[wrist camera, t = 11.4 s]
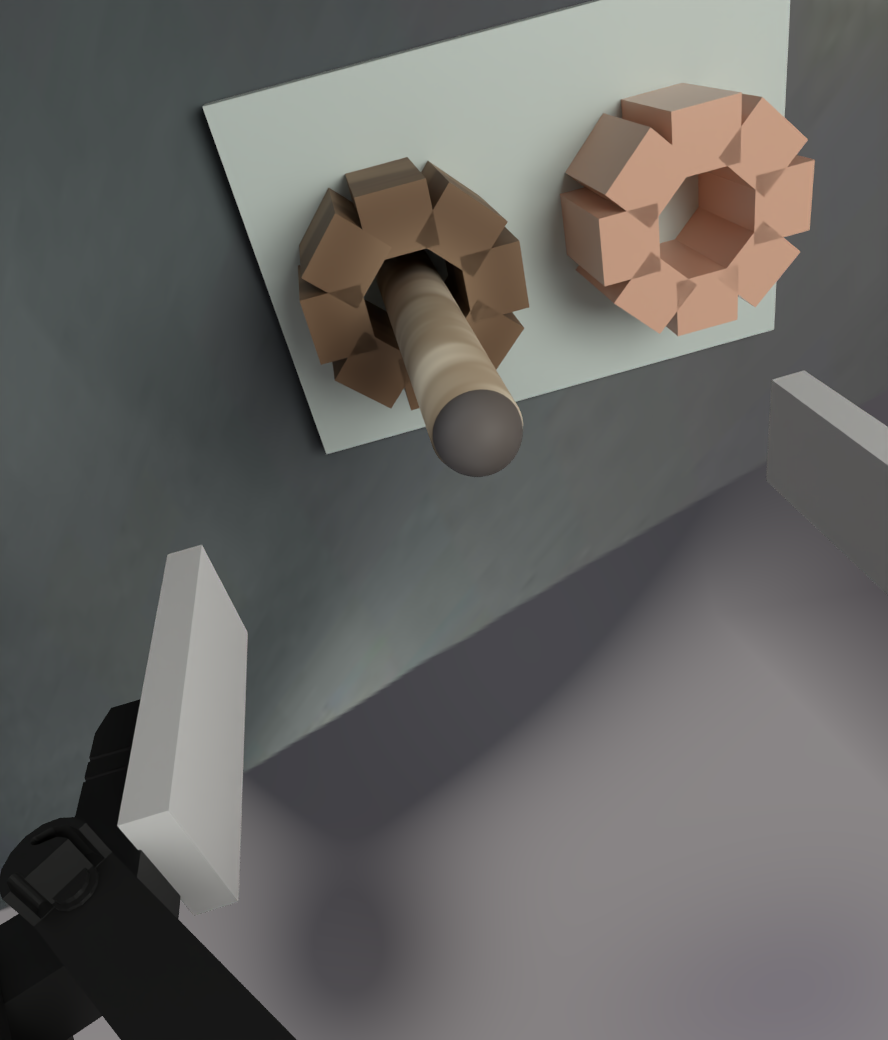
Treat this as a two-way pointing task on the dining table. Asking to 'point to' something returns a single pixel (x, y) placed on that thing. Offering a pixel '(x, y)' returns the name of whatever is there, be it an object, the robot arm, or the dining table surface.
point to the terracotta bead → (714, 225)
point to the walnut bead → (393, 232)
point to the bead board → (493, 170)
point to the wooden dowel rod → (449, 370)
